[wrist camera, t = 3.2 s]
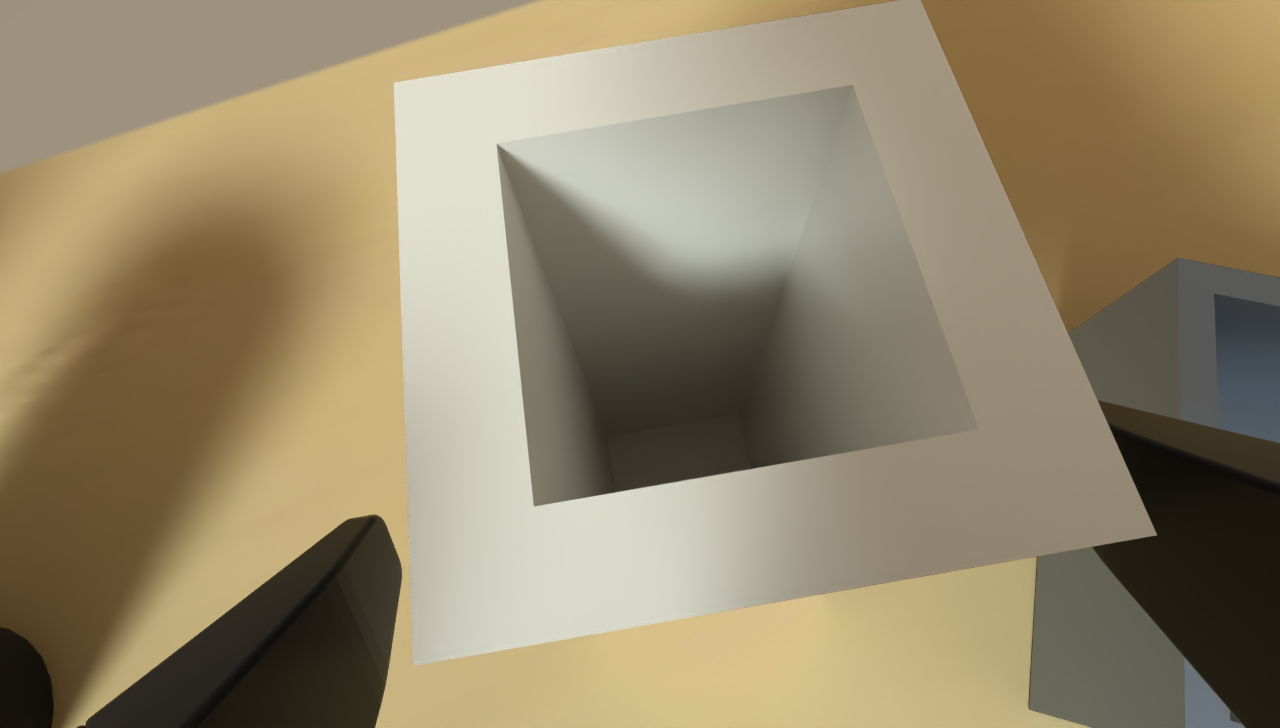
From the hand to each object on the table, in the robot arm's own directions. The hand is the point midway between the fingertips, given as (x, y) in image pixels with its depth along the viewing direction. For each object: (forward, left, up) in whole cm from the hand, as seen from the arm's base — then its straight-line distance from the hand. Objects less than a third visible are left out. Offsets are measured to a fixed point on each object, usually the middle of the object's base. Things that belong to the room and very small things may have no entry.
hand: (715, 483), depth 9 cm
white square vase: (+1, -1, -9) cm, 9 cm away
